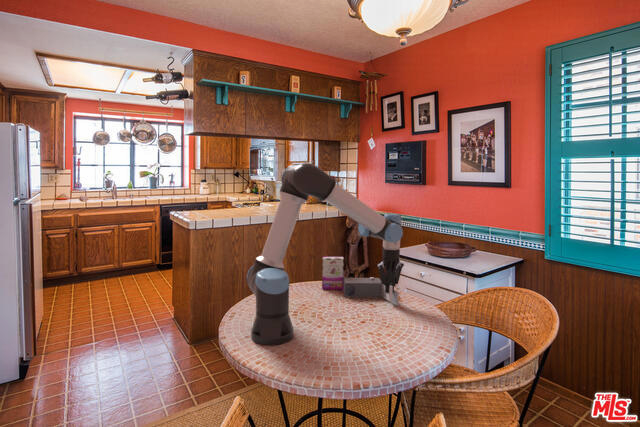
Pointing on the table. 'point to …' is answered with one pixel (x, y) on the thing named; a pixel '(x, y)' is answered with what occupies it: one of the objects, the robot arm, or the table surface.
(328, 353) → the table surface
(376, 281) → the case
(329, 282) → the candy bar box
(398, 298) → the door
